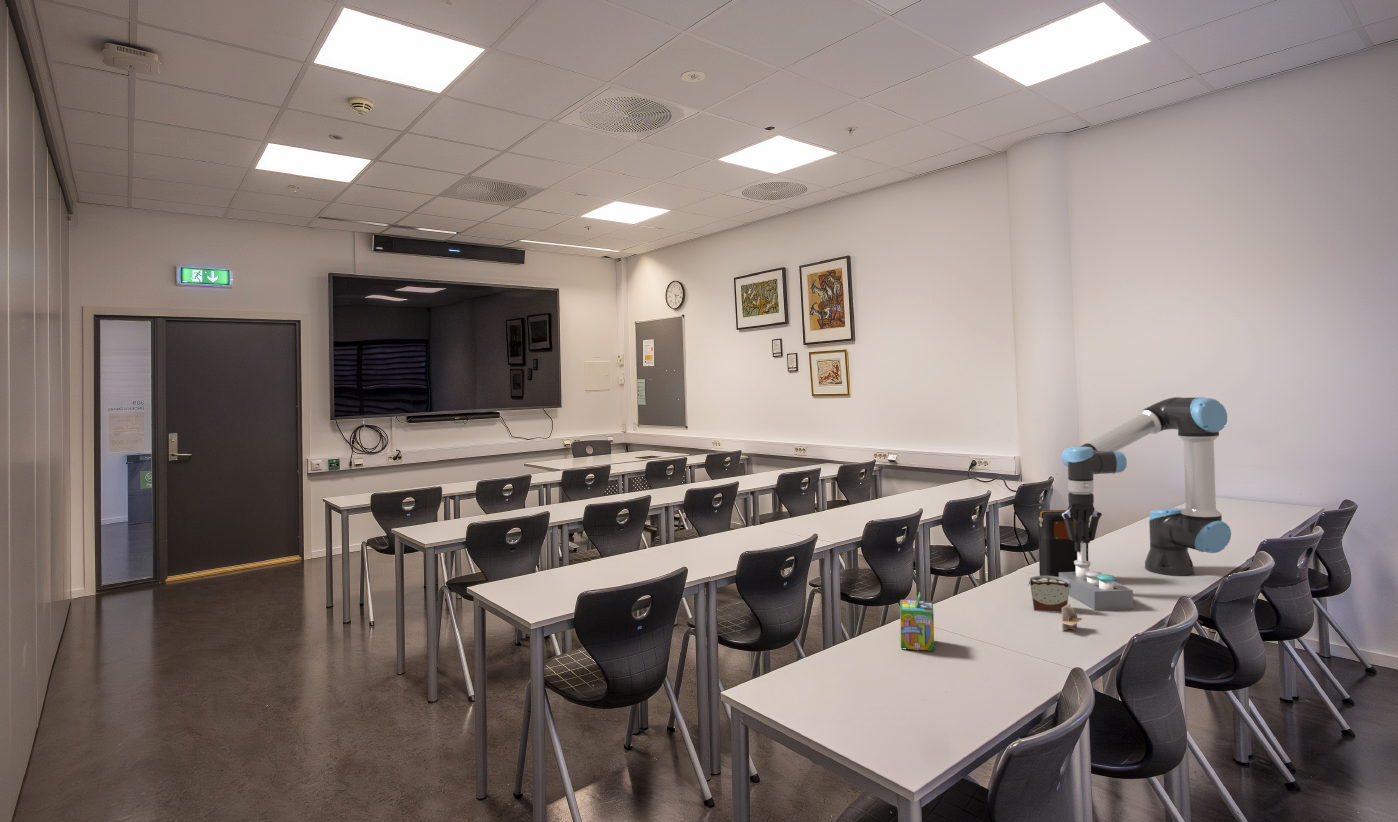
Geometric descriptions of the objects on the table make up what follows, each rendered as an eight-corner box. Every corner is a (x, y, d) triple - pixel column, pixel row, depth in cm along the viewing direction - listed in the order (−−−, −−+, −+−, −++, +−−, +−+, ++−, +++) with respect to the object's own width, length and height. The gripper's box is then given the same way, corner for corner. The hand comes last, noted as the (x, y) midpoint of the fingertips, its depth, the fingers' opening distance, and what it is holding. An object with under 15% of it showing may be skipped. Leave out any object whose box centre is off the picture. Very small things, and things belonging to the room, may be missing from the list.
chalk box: (900, 638, 200) (898, 587, 200) (933, 640, 197) (932, 589, 197) (900, 650, 191) (898, 597, 191) (935, 652, 189) (933, 599, 188)
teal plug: (1109, 598, 223) (1109, 573, 222) (1118, 602, 218) (1118, 578, 218) (1094, 598, 223) (1094, 574, 222) (1103, 603, 218) (1102, 578, 218)
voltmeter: (1081, 575, 254) (1079, 508, 253) (1092, 582, 245) (1091, 512, 244) (1037, 575, 255) (1035, 509, 254) (1046, 582, 247) (1045, 513, 246)
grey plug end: (1085, 582, 237) (1085, 559, 236) (1093, 586, 232) (1093, 563, 232) (1071, 583, 237) (1071, 560, 236) (1079, 587, 232) (1078, 563, 232)
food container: (1068, 606, 221) (1067, 576, 220) (1072, 613, 215) (1071, 581, 214) (1026, 604, 225) (1025, 574, 224) (1028, 610, 219) (1028, 579, 218)
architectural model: (1082, 630, 201) (1082, 605, 201) (1072, 637, 197) (1072, 611, 197) (1070, 627, 204) (1070, 603, 204) (1060, 633, 199) (1059, 608, 199)
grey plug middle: (1097, 594, 230) (1096, 570, 229) (1105, 598, 225) (1105, 574, 225) (1083, 594, 230) (1082, 571, 229) (1091, 599, 225) (1090, 575, 225)
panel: (1093, 588, 238) (1093, 571, 238) (1133, 608, 216) (1132, 590, 216) (1059, 589, 238) (1058, 572, 238) (1094, 610, 216) (1094, 591, 216)
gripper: (1067, 494, 229) (1068, 564, 230) (1106, 493, 229) (1107, 563, 230) (1055, 491, 237) (1056, 558, 238) (1093, 490, 237) (1094, 557, 238)
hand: (1081, 560), depth 234 cm, fingers closed
